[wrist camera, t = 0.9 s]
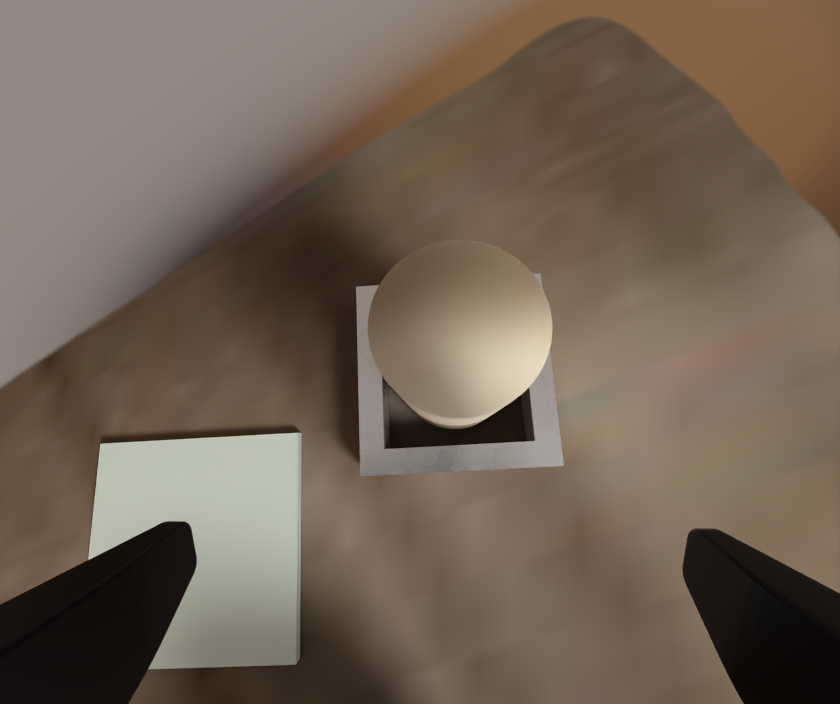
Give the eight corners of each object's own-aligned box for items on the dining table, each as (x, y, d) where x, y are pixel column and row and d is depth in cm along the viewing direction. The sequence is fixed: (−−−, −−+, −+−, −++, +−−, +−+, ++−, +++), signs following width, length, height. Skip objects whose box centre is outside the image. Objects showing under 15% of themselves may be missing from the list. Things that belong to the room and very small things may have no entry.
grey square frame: (551, 463, 23) (563, 465, 20) (369, 472, 23) (360, 476, 21) (531, 290, 25) (540, 273, 22) (364, 302, 25) (356, 286, 23)
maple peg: (508, 427, 23) (563, 411, 12) (405, 432, 23) (370, 422, 13) (499, 326, 24) (541, 232, 14) (400, 333, 25) (365, 246, 14)
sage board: (300, 658, 21) (295, 664, 21) (86, 665, 22) (76, 671, 21) (301, 432, 24) (297, 432, 23) (108, 443, 24) (100, 443, 24)
